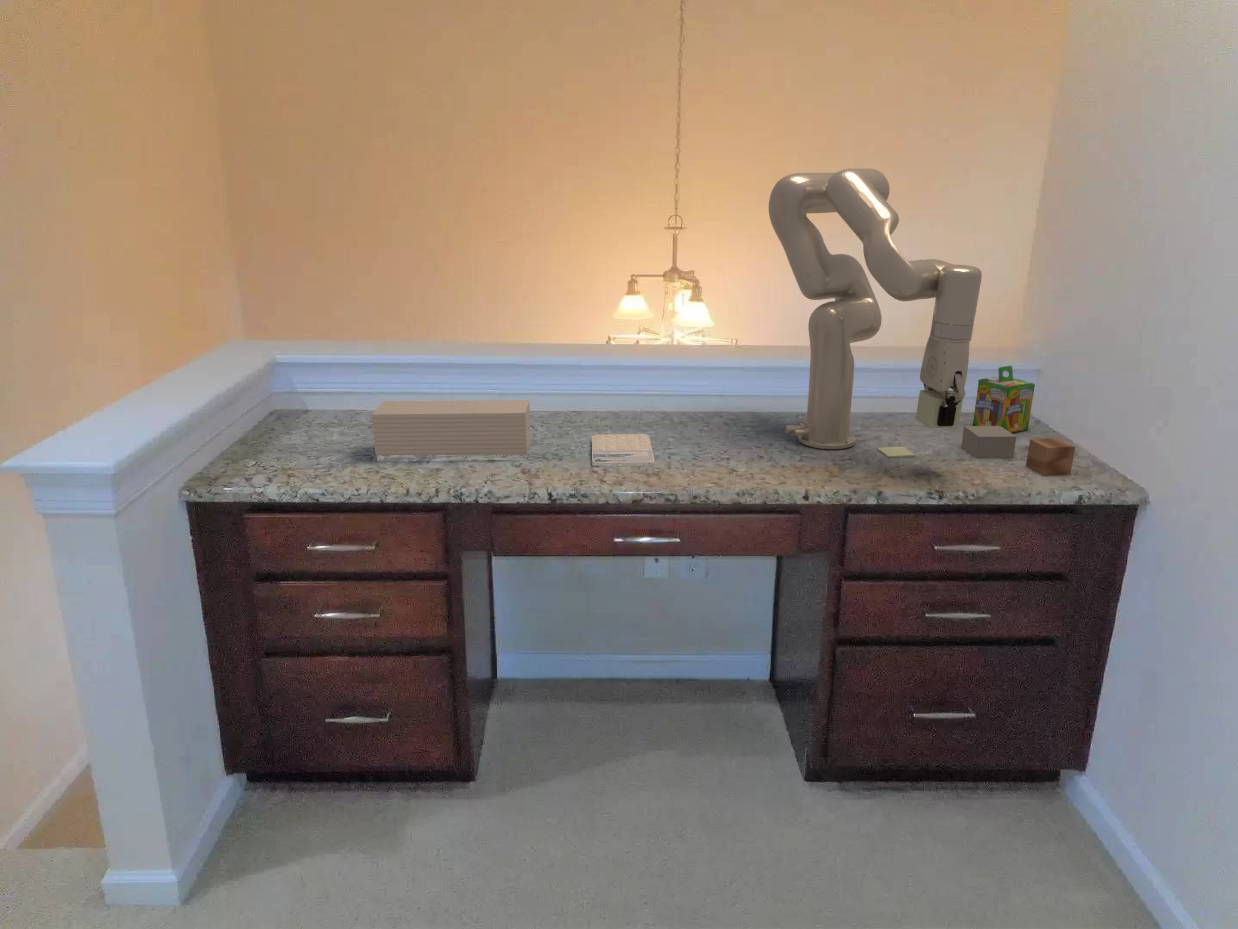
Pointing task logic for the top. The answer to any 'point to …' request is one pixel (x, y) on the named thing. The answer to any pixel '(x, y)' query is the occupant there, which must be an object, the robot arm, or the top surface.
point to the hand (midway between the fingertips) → (937, 419)
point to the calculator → (623, 448)
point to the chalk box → (1004, 402)
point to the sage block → (933, 409)
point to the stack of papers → (452, 427)
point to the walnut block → (1050, 456)
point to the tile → (895, 452)
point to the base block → (988, 441)
